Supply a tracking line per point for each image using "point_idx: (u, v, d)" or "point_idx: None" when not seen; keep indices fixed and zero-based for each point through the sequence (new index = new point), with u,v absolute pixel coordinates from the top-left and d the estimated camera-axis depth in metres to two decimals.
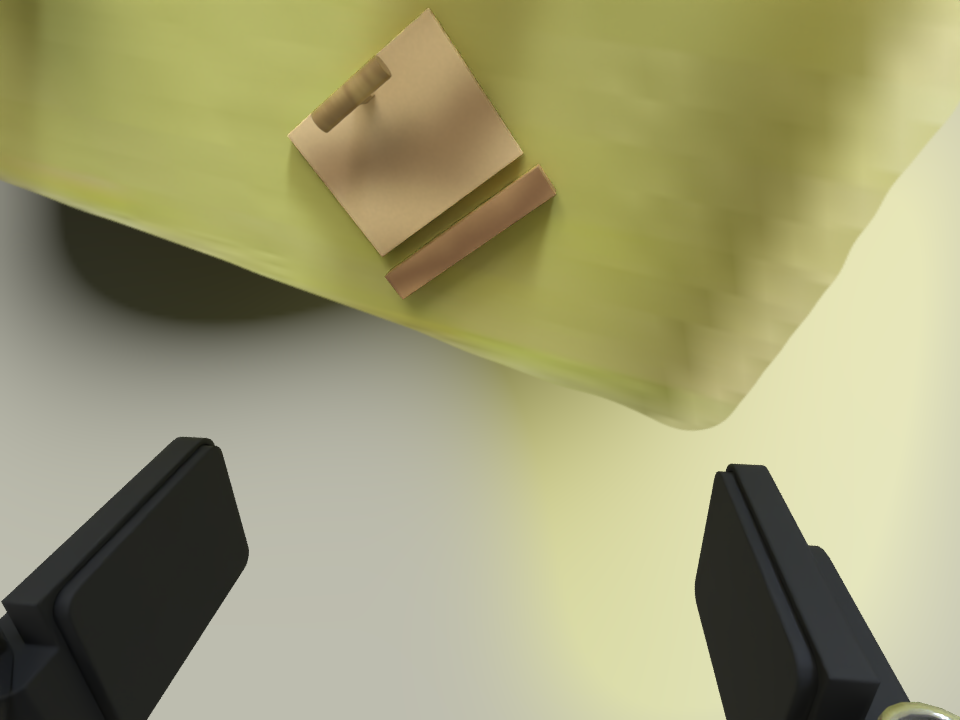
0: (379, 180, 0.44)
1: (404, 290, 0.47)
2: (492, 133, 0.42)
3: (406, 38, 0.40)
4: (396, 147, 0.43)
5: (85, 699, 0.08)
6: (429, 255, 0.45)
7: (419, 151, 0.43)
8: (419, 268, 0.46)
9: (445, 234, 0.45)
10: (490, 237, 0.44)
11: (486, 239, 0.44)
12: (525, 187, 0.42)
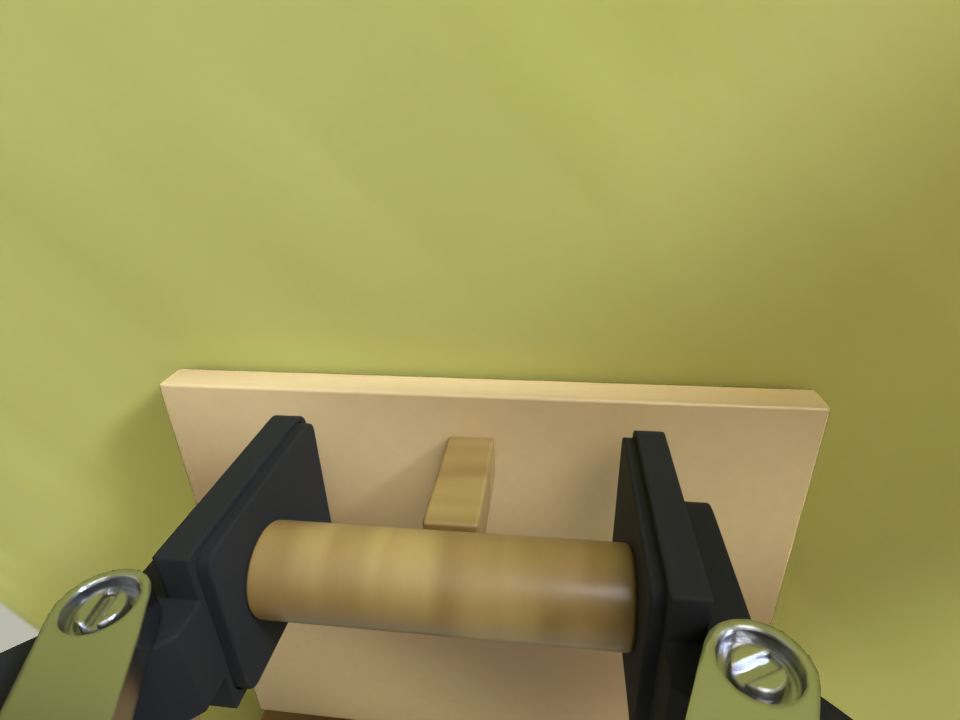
0: None
1: None
2: None
3: (699, 427, 0.11)
4: None
5: (217, 651, 0.09)
6: None
7: None
8: None
9: None
10: None
11: None
12: None
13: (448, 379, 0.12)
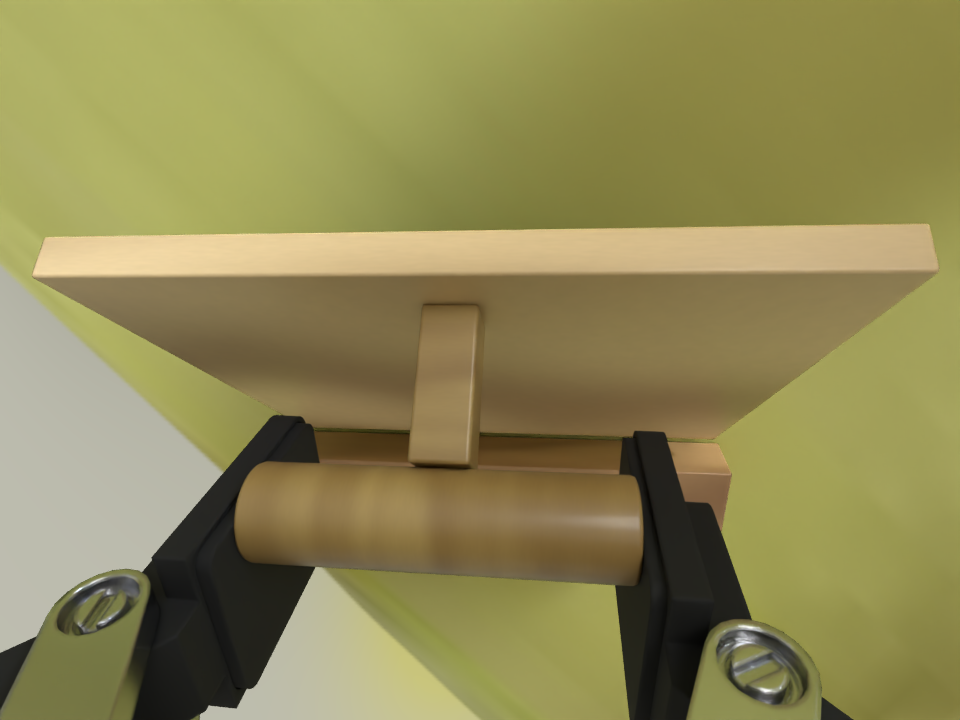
0: (368, 392, 0.15)
1: None
2: (701, 421, 0.16)
3: (748, 290, 0.09)
4: None
5: (216, 651, 0.09)
6: None
7: (514, 397, 0.15)
8: None
9: None
10: None
11: None
12: None
13: (407, 237, 0.09)
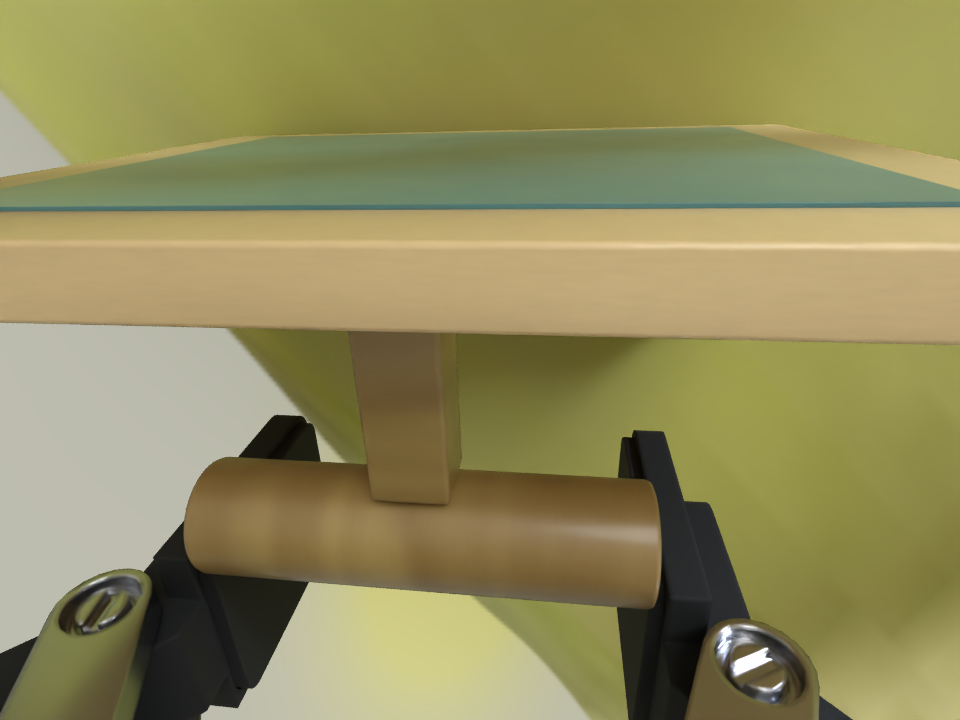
0: None
1: None
2: None
3: None
4: None
5: (218, 650, 0.09)
6: None
7: None
8: None
9: None
10: None
11: None
12: None
13: (279, 257, 0.05)
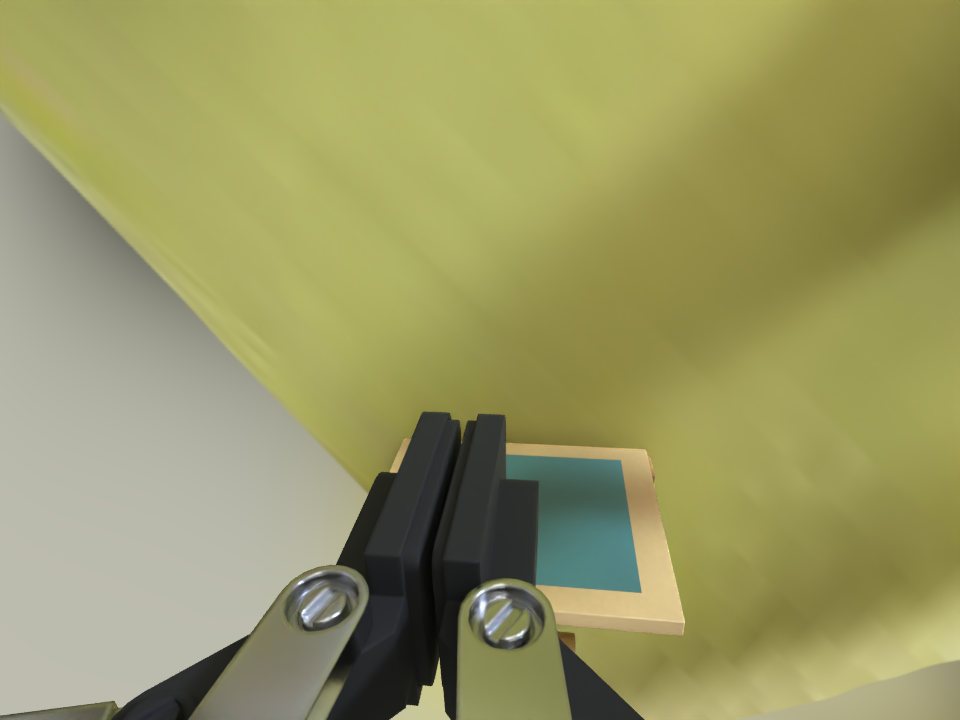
0: None
1: None
2: None
3: None
4: None
5: (411, 648, 0.09)
6: None
7: None
8: None
9: None
10: None
11: None
12: None
13: None
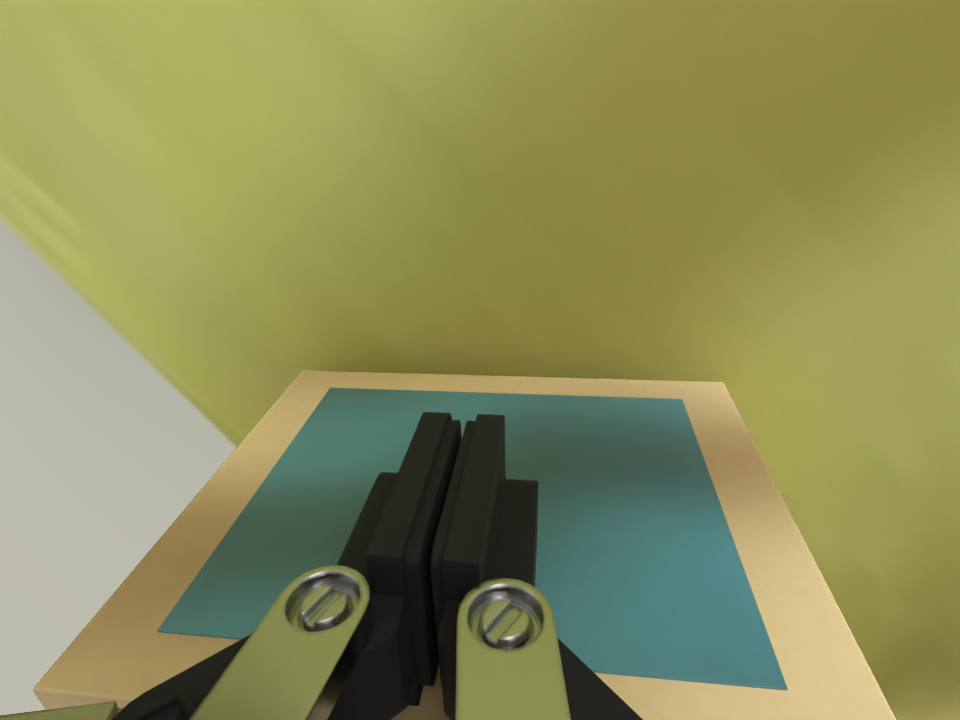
0: None
1: None
2: None
3: None
4: None
5: (411, 649, 0.09)
6: None
7: None
8: None
9: None
10: None
11: None
12: None
13: None
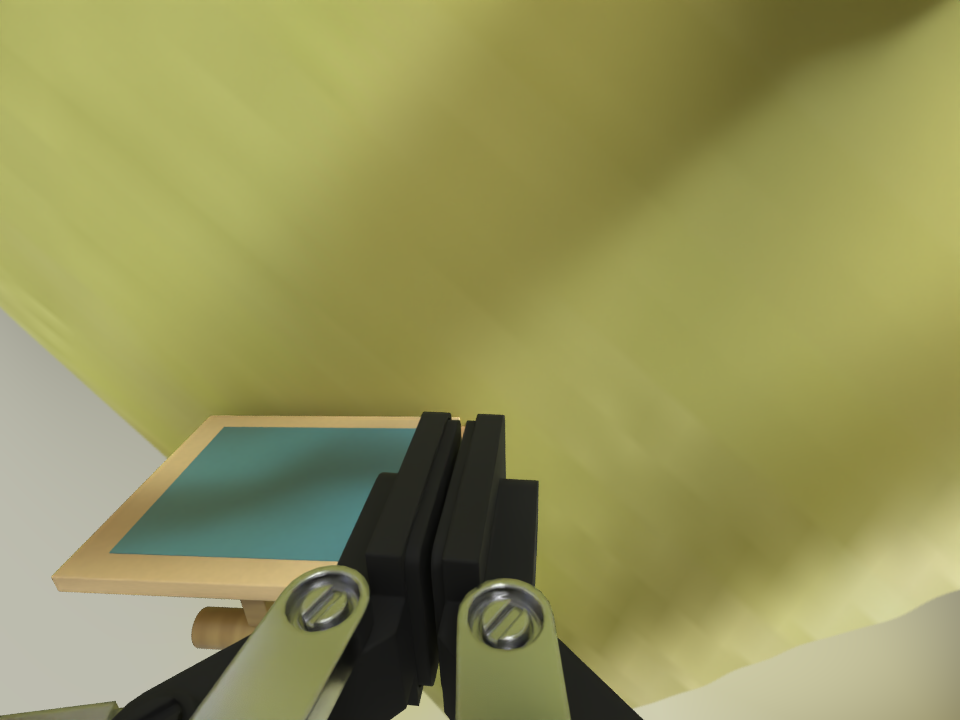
0: None
1: None
2: None
3: None
4: None
5: (411, 648, 0.09)
6: None
7: None
8: None
9: None
10: None
11: None
12: None
13: (212, 586, 0.21)
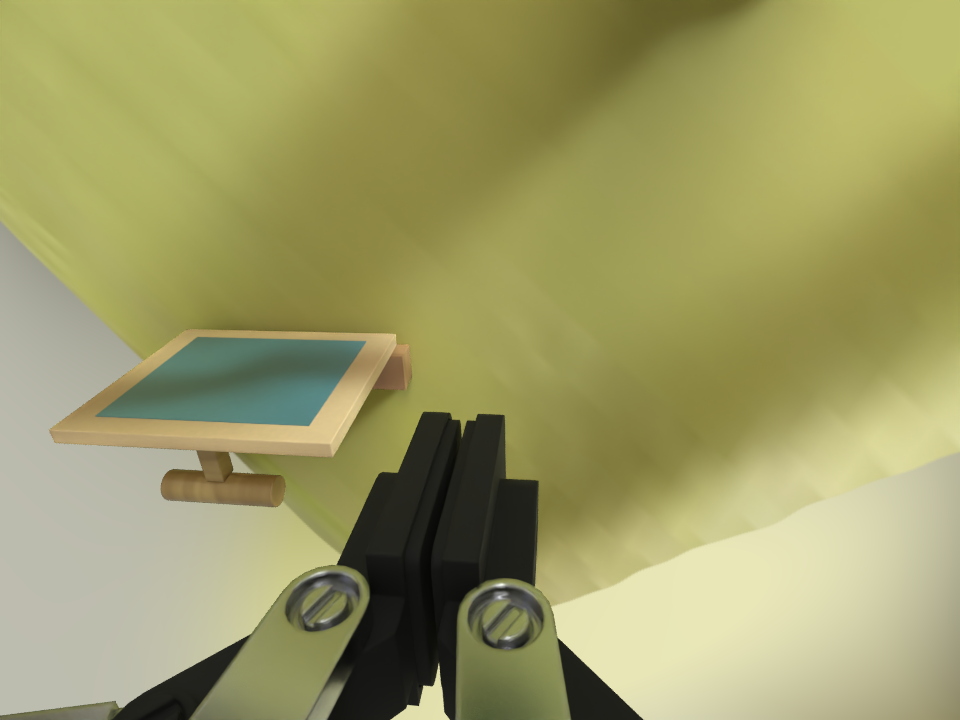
0: None
1: None
2: None
3: None
4: None
5: (411, 649, 0.09)
6: None
7: None
8: None
9: None
10: None
11: None
12: None
13: (173, 438, 0.26)
